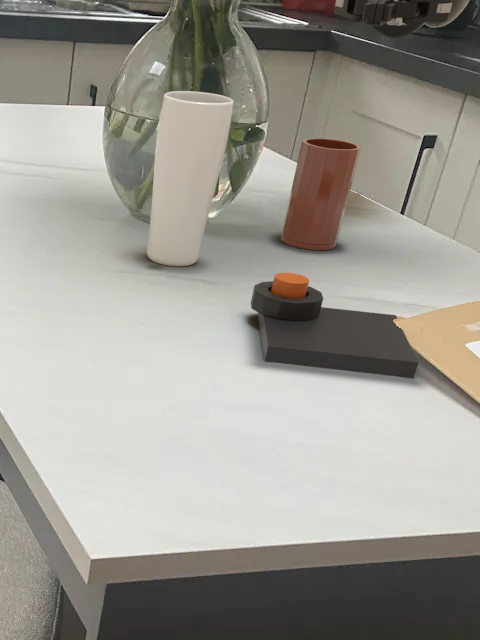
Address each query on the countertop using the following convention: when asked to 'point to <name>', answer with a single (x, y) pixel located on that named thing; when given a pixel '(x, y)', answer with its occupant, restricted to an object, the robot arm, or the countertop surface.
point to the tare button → (290, 285)
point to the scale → (330, 335)
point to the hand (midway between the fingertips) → (375, 13)
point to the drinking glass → (186, 173)
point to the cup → (320, 193)
